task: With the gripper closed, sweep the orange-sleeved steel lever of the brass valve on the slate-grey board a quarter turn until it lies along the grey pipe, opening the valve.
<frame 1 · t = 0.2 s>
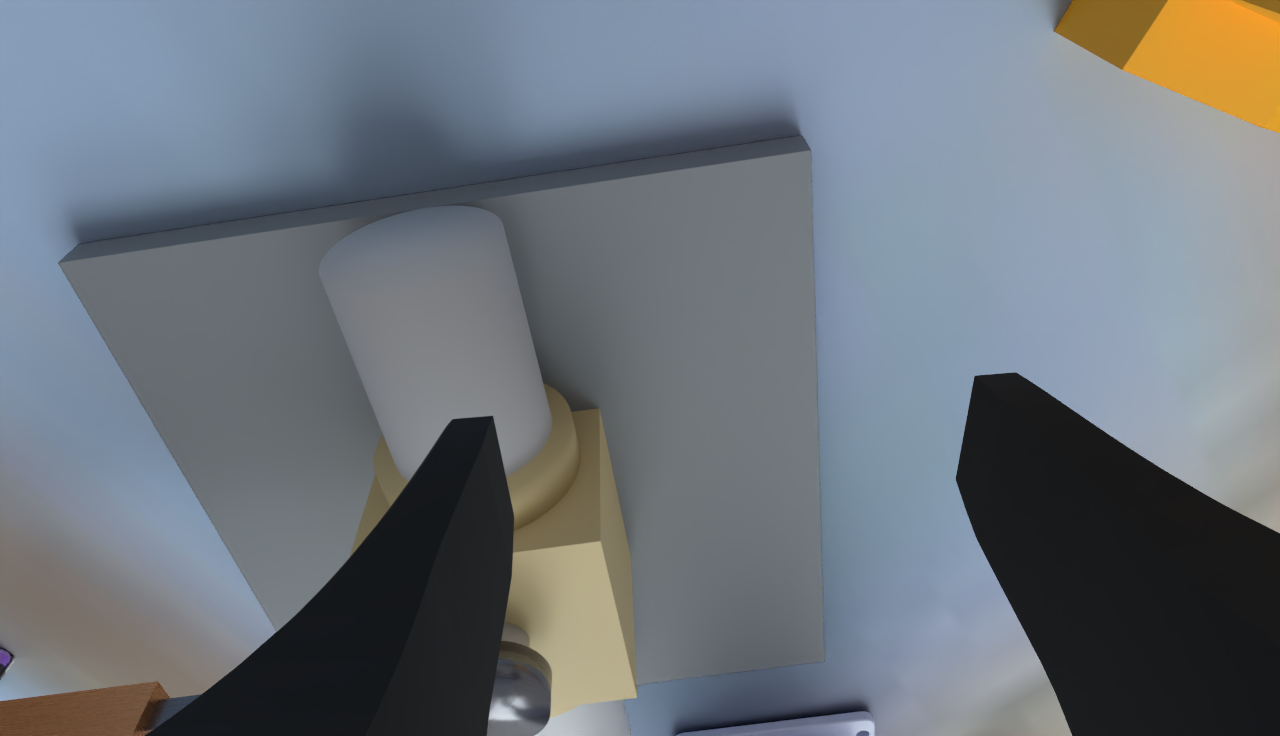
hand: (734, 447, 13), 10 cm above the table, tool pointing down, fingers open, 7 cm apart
valve lever: (253, 723, 20), point 8 cm above the table, hinge at 90.0°
valve base: (518, 478, 26), on the table
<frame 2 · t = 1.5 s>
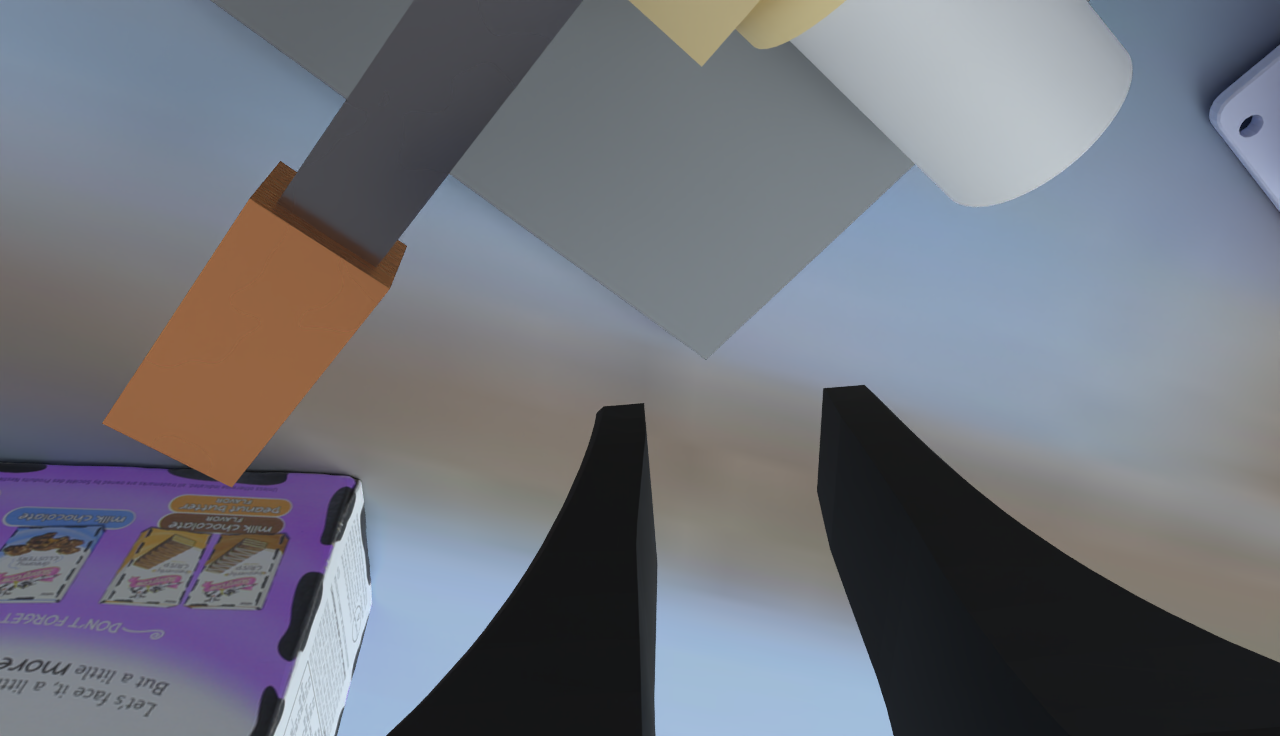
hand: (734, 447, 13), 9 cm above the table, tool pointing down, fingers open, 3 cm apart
valve lever: (414, 114, 12), point 7 cm above the table, hinge at 90.0°
candy box: (142, 526, 26), on the table
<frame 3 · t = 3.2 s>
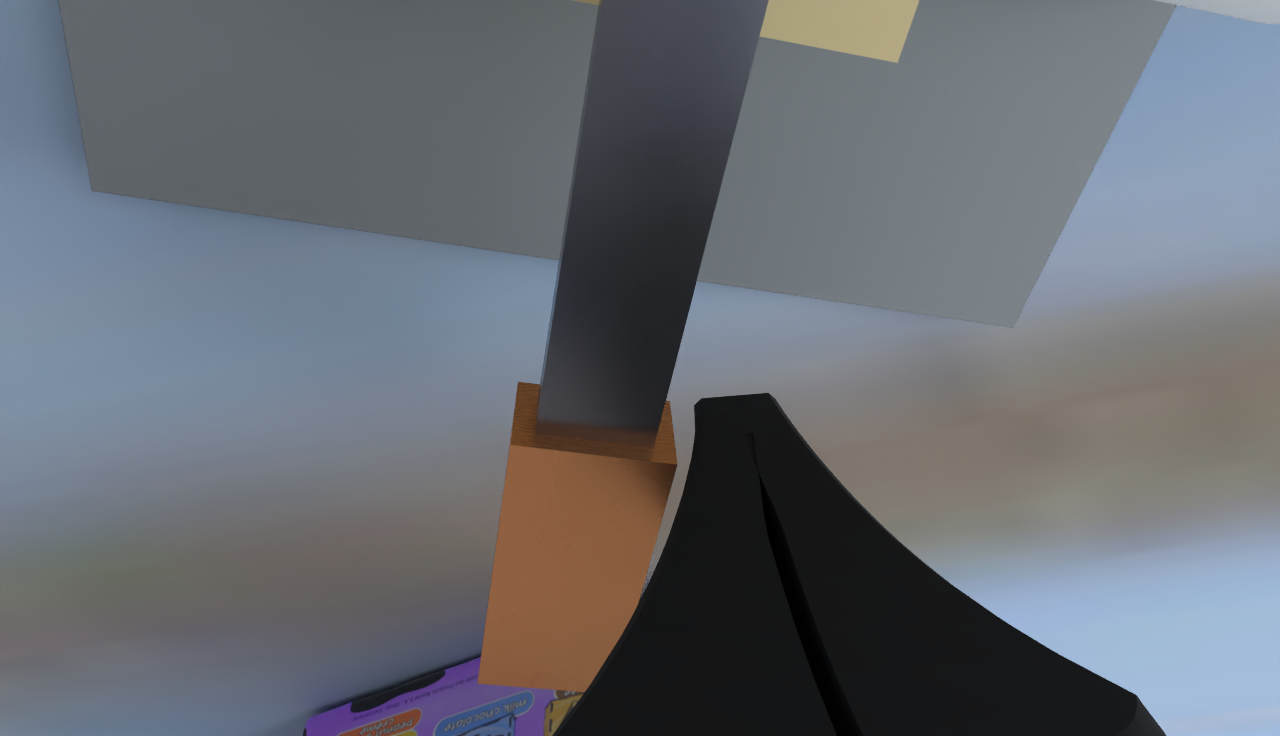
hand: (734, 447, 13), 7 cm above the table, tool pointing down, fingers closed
valve lever: (622, 285, 11), point 8 cm above the table, hinge at 90.0°, touching gripper
candy box: (541, 689, 28), on the table
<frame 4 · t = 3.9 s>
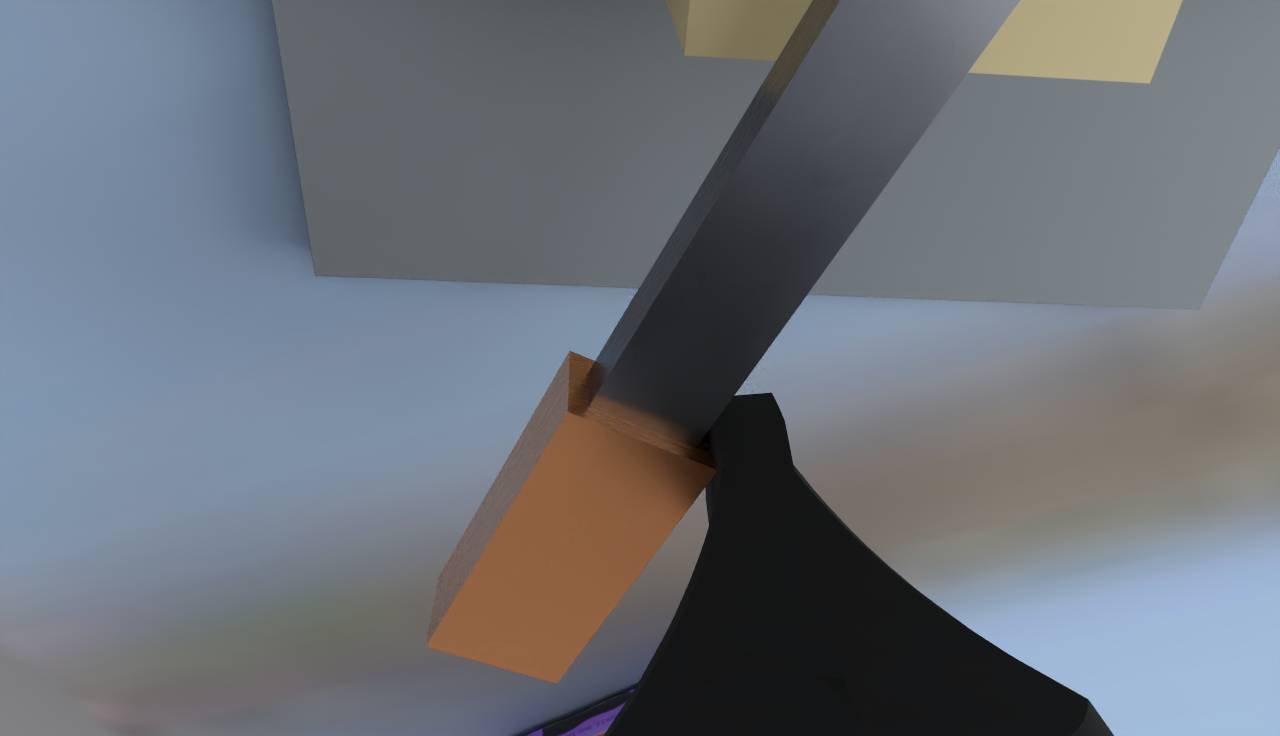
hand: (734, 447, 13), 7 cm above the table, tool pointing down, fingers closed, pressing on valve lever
valve lever: (724, 284, 11), point 7 cm above the table, hinge at 65.7°, touching gripper
candy box: (721, 702, 28), on the table
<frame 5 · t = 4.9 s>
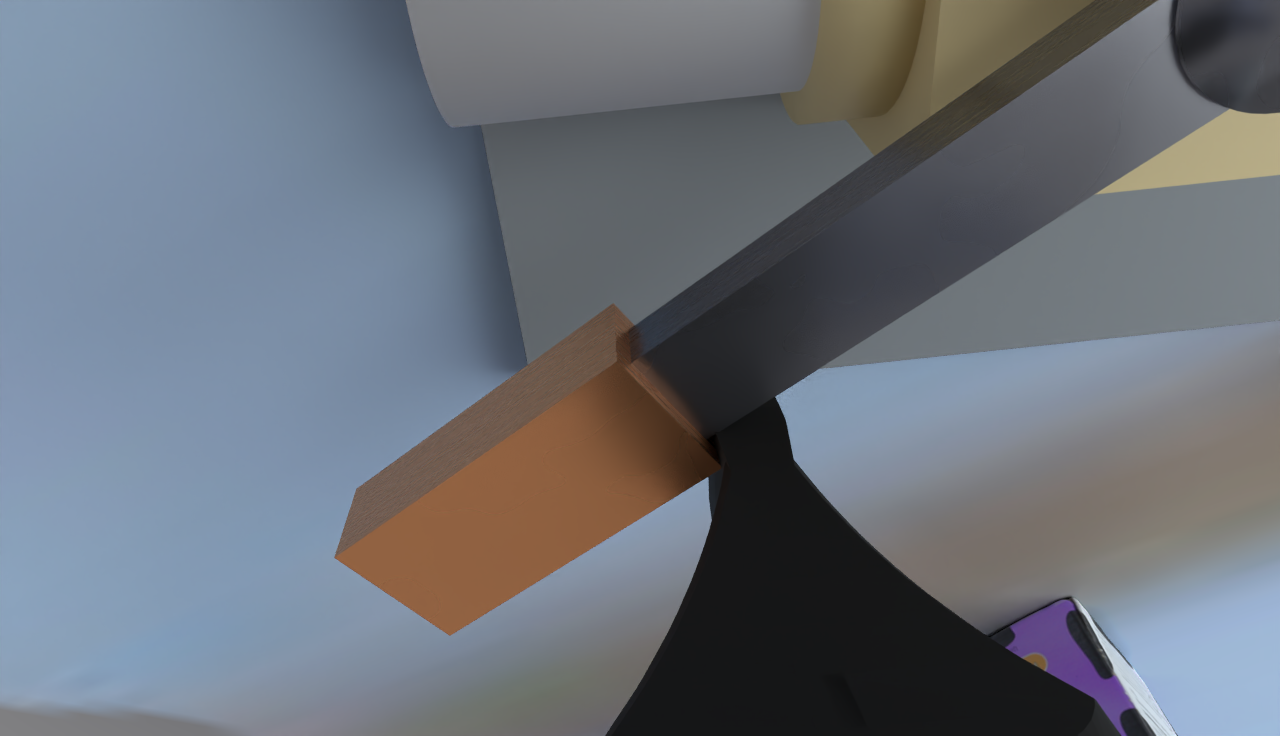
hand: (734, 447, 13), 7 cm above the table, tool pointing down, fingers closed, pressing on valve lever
valve lever: (805, 293, 11), point 8 cm above the table, hinge at 33.1°, touching gripper
candy box: (916, 721, 29), on the table
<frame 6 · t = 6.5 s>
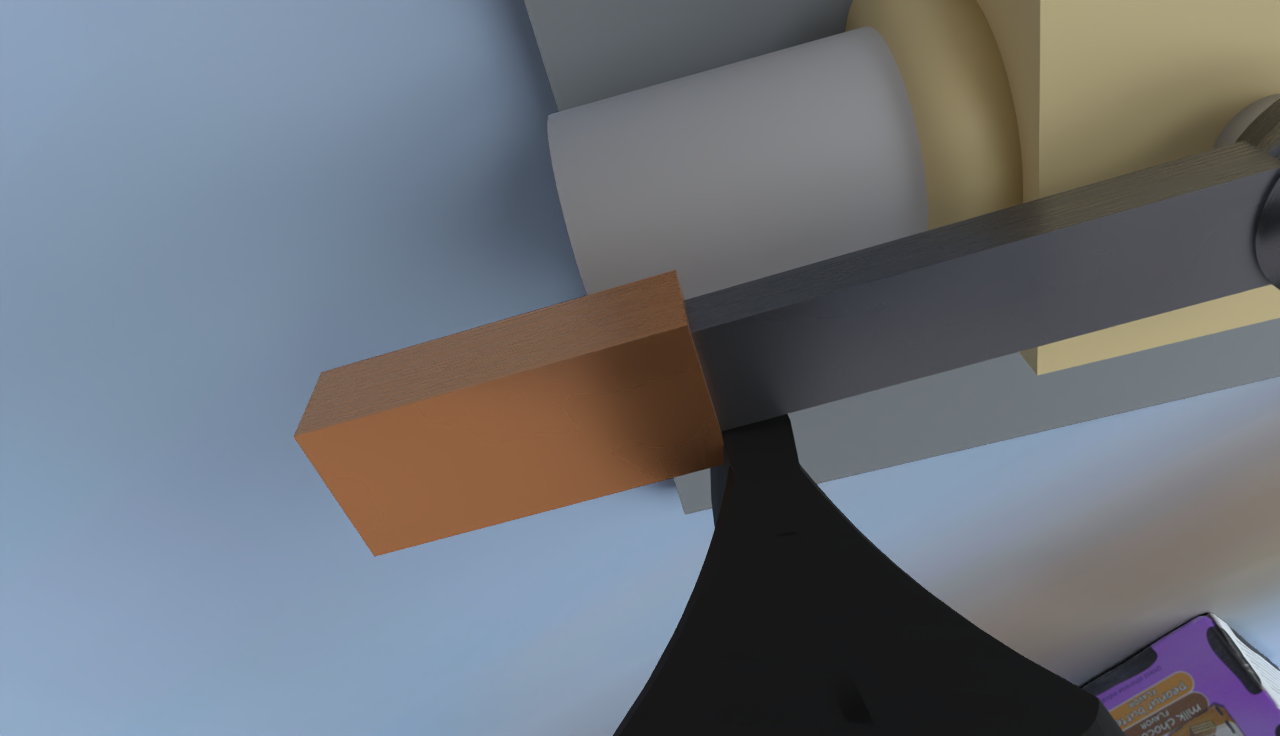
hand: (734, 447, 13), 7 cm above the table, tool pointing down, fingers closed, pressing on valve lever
valve lever: (865, 321, 11), point 7 cm above the table, hinge at 1.9°, touching gripper
valve base: (1056, 38, 17), on the table
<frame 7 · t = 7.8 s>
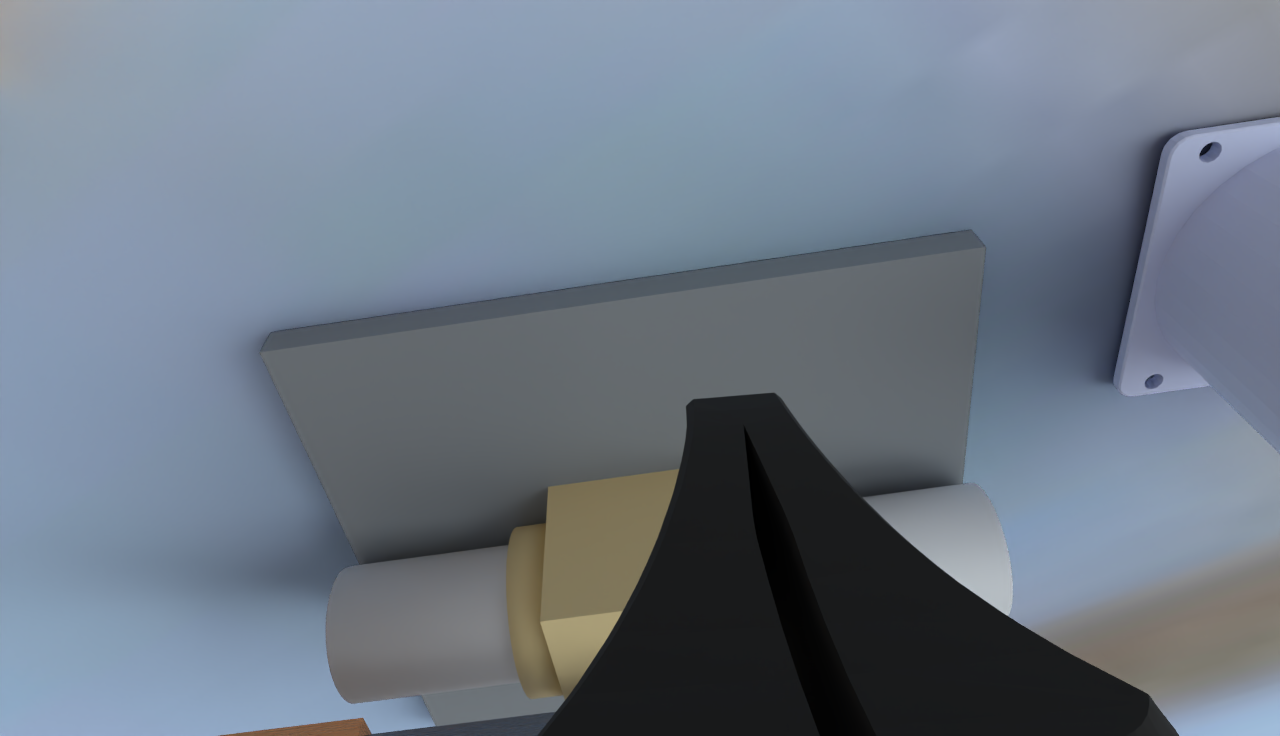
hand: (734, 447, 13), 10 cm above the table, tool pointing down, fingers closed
valve base: (658, 521, 28), on the table
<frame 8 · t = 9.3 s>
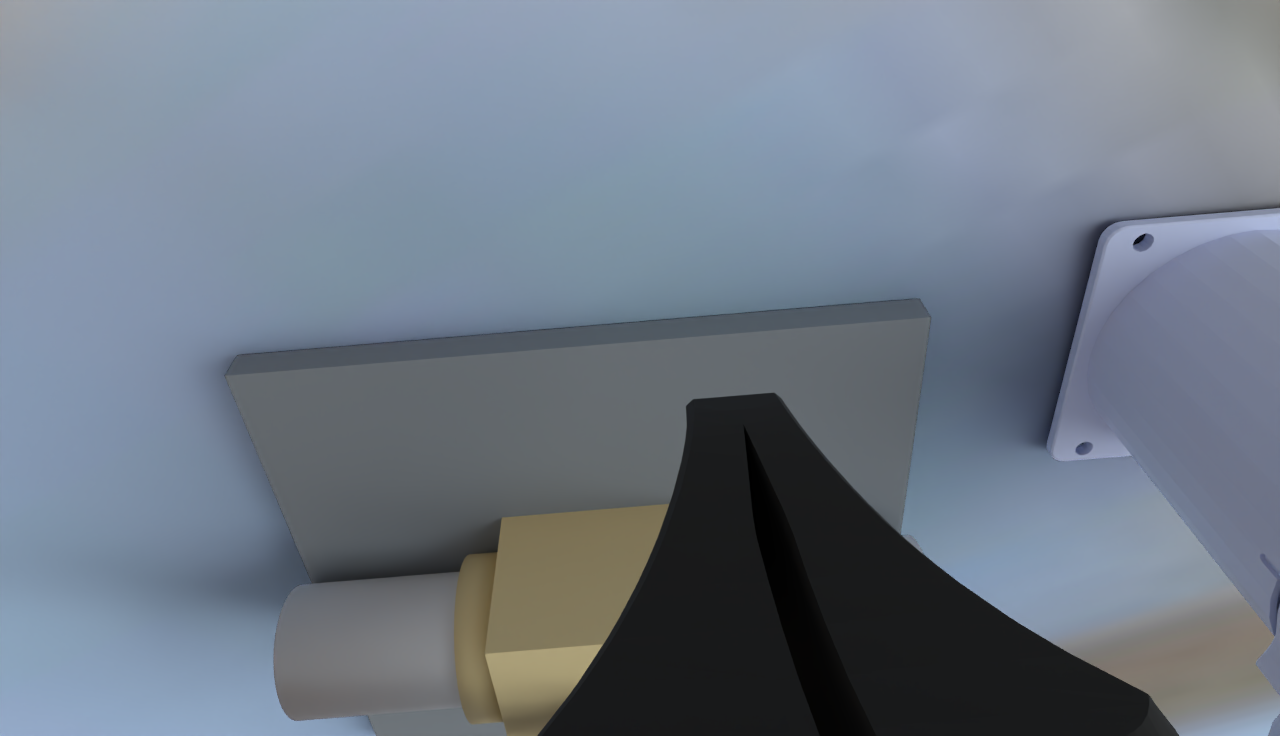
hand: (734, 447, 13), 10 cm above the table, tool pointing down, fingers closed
valve base: (607, 553, 29), on the table
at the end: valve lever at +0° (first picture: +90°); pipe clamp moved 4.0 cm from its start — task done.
